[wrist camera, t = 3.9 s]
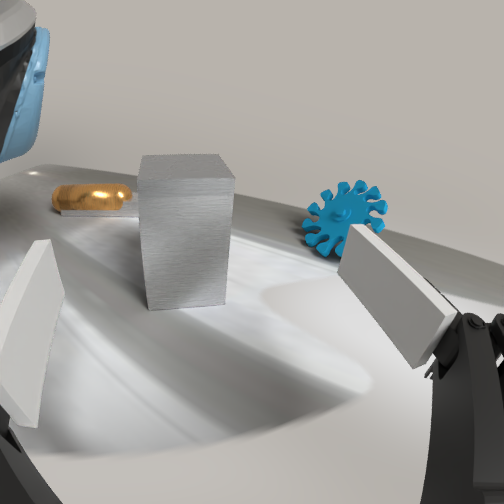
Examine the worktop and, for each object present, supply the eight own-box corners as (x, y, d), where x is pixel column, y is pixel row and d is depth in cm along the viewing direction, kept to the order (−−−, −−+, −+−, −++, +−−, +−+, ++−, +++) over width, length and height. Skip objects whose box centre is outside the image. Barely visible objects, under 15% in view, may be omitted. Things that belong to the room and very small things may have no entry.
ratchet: (43, 223, 32) (37, 185, 29) (65, 200, 37) (61, 167, 35) (213, 227, 35) (215, 185, 32) (213, 203, 41) (216, 167, 38)
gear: (287, 212, 36) (354, 163, 34) (310, 239, 40) (370, 195, 38) (324, 277, 28) (408, 216, 26) (346, 301, 32) (419, 249, 30)
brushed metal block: (148, 310, 22) (137, 180, 17) (148, 265, 27) (142, 155, 22) (225, 304, 24) (235, 178, 19) (211, 261, 29) (218, 154, 23)
